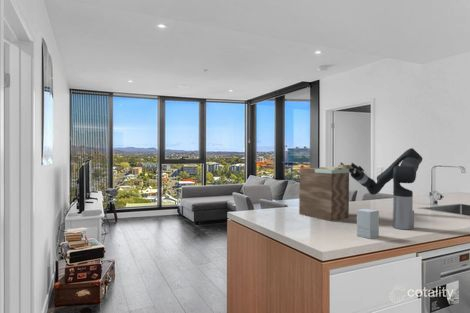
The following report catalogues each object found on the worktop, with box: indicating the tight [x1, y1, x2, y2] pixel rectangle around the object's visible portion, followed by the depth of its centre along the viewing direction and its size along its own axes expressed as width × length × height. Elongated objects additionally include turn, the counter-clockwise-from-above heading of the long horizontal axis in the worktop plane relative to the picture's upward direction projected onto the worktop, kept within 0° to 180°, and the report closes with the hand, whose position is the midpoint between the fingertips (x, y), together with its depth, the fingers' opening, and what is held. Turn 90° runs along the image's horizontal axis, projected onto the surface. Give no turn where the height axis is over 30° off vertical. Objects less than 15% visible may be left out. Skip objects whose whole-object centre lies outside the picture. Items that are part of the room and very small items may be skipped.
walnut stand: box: [298, 167, 350, 222], centre depth 204 cm, size 16×26×30 cm, turn 33°
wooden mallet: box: [319, 164, 353, 170], centre depth 203 cm, size 25×11×2 cm, turn 123°
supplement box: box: [356, 208, 380, 240], centre depth 154 cm, size 7×7×13 cm
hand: (345, 163), depth 206 cm, fingers open, 8 cm apart
